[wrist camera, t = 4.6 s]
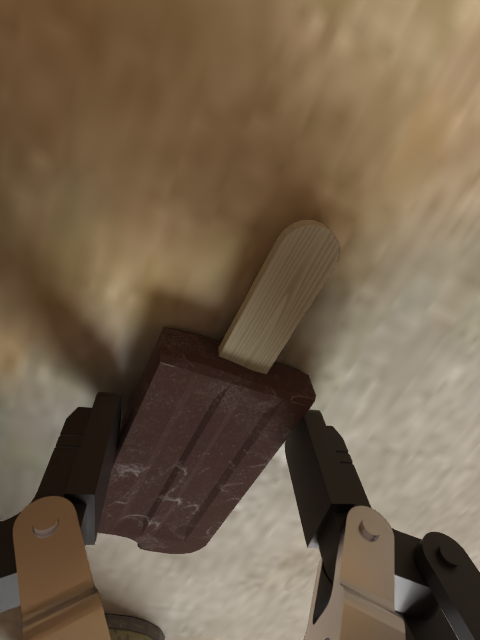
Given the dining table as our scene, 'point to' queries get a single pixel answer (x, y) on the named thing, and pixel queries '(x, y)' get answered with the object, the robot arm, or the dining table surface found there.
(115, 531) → the ice cream bar
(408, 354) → the dining table surface
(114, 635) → the thermos
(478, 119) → the dining table surface
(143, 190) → the dining table surface
